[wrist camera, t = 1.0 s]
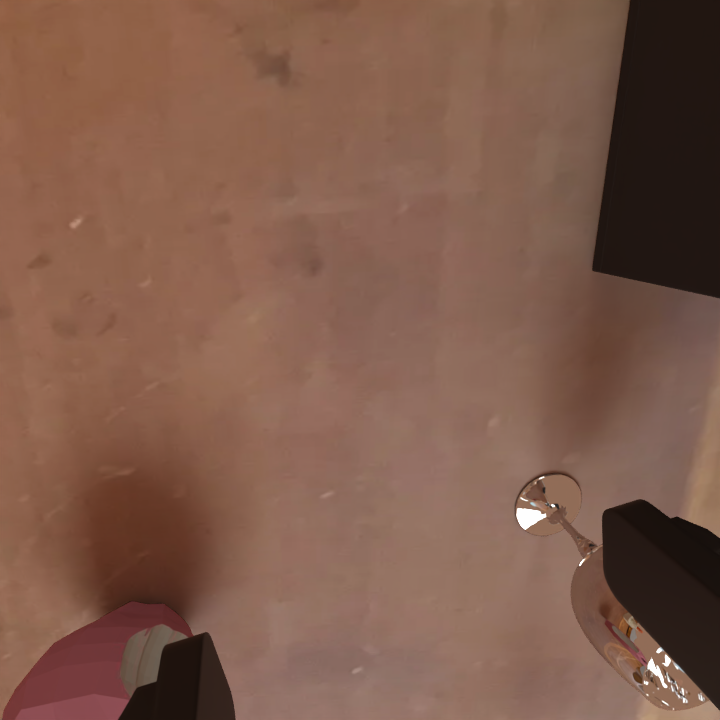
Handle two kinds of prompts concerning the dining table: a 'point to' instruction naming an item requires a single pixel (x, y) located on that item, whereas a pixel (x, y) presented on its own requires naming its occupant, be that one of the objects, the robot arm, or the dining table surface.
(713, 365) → the dining table surface
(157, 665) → the apple
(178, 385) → the dining table surface
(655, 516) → the robot arm
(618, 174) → the dark brown box
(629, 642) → the wineglass
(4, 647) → the dining table surface
